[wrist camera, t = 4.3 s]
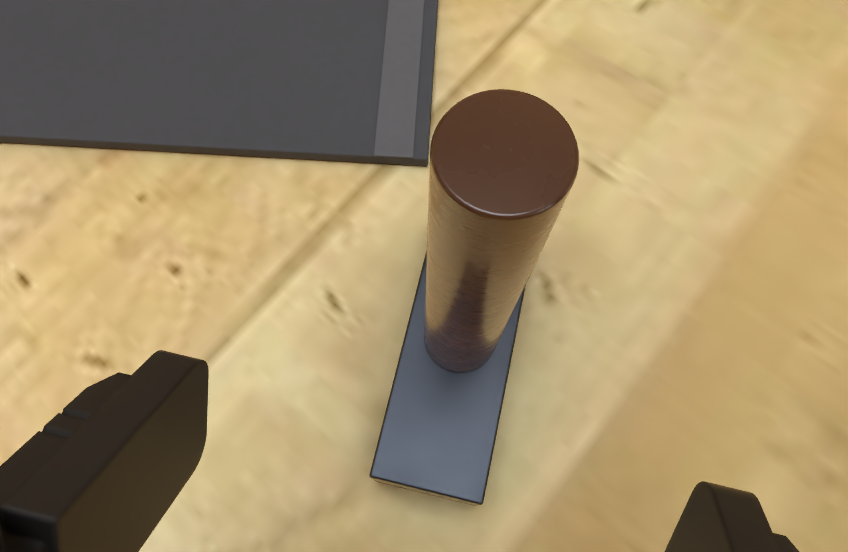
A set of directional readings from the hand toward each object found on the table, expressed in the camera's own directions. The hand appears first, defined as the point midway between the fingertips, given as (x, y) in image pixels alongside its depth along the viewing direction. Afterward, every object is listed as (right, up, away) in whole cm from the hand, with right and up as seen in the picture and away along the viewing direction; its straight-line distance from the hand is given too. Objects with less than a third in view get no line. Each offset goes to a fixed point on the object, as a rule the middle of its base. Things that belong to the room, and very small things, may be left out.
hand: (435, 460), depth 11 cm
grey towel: (-10, +16, +19) cm, 27 cm away
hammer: (+1, 0, +14) cm, 14 cm away
